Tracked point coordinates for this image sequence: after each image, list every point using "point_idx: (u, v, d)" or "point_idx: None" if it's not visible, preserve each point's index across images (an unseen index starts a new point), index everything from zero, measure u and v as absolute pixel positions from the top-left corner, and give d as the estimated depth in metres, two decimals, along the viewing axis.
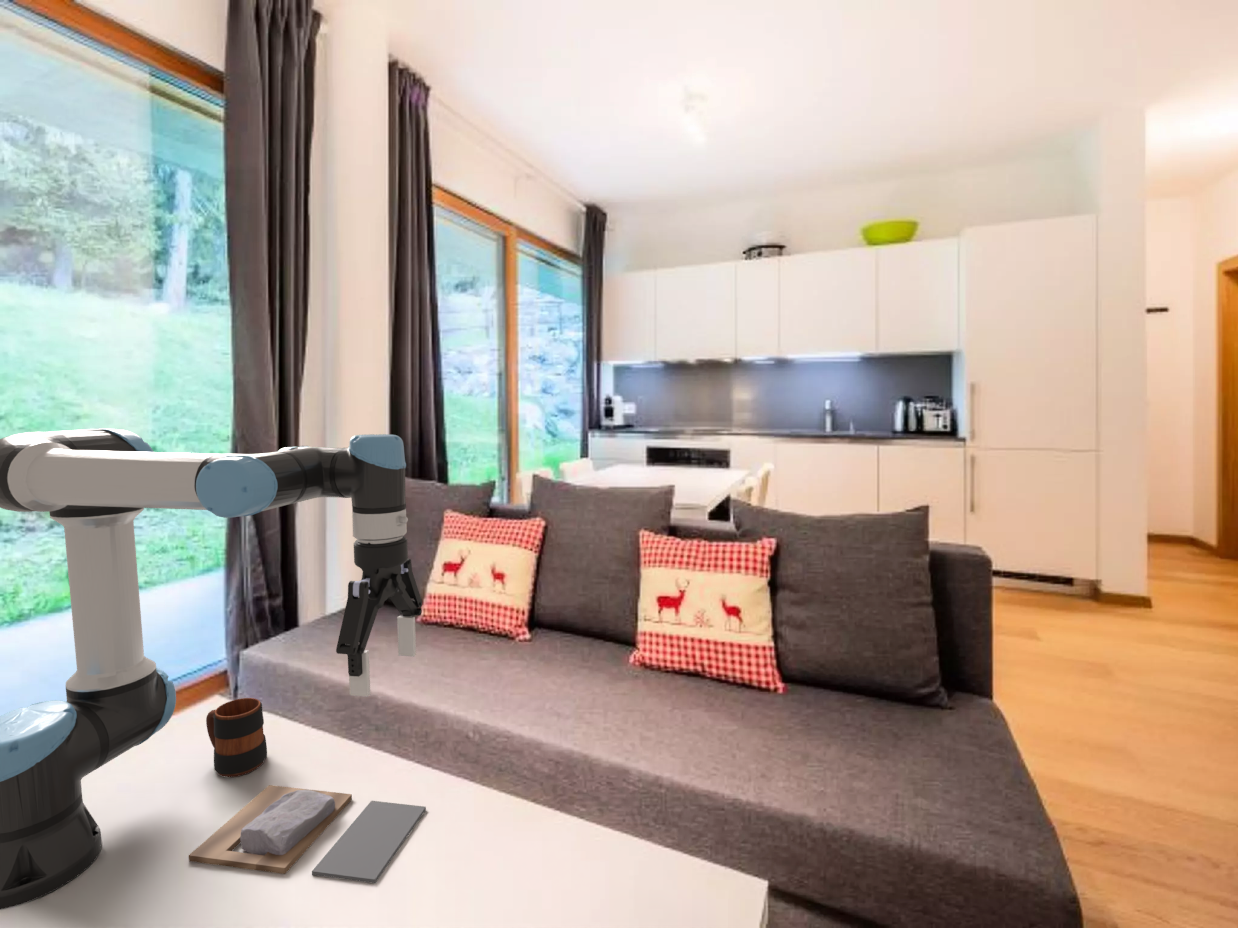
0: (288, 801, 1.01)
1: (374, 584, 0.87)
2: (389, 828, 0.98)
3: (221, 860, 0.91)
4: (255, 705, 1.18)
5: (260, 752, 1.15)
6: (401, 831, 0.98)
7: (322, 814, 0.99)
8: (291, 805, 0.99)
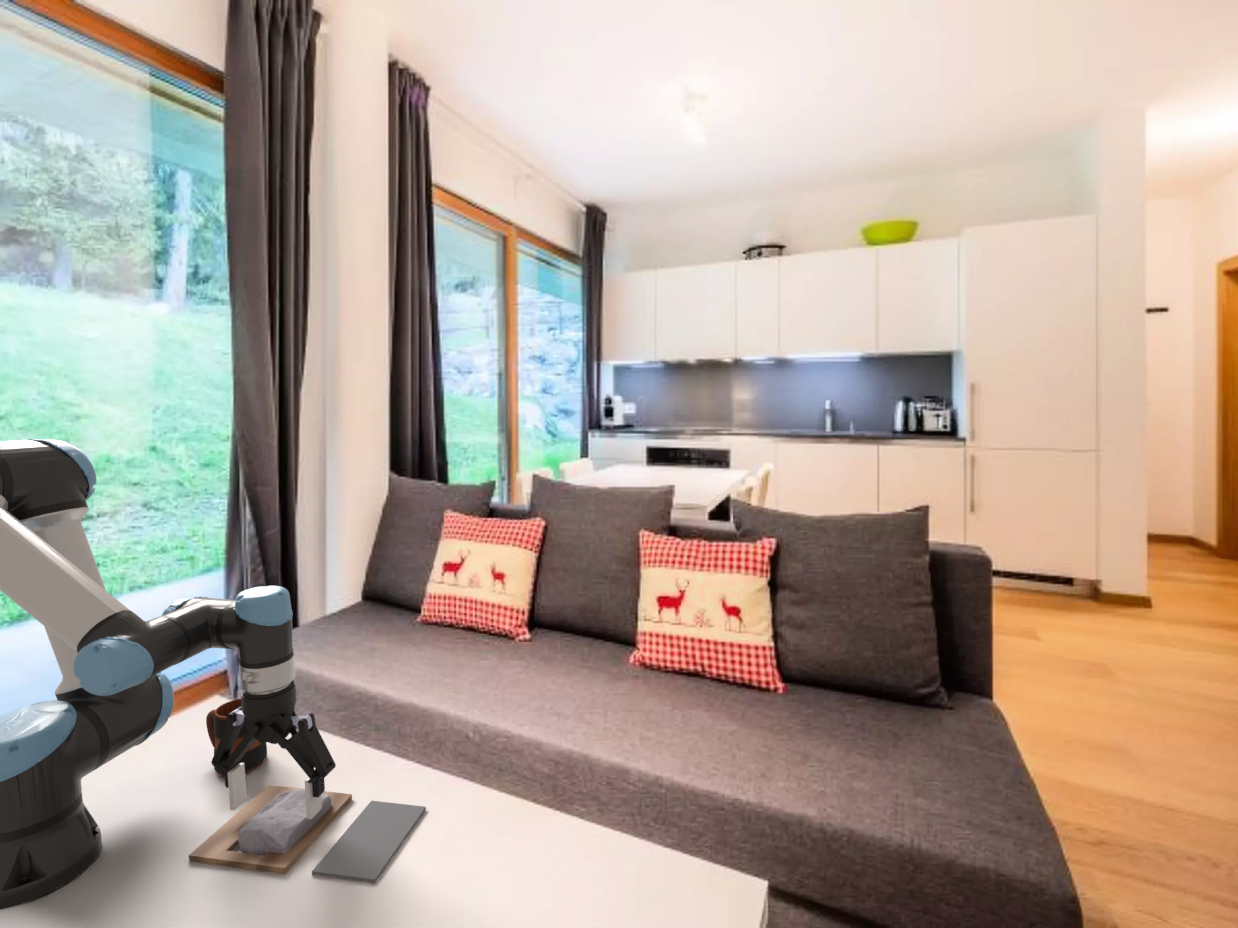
0: (284, 801, 1.01)
1: (244, 721, 0.97)
2: (389, 828, 0.98)
3: (221, 860, 0.91)
4: None
5: (260, 752, 1.15)
6: (401, 831, 0.98)
7: (320, 812, 1.00)
8: (288, 804, 0.99)
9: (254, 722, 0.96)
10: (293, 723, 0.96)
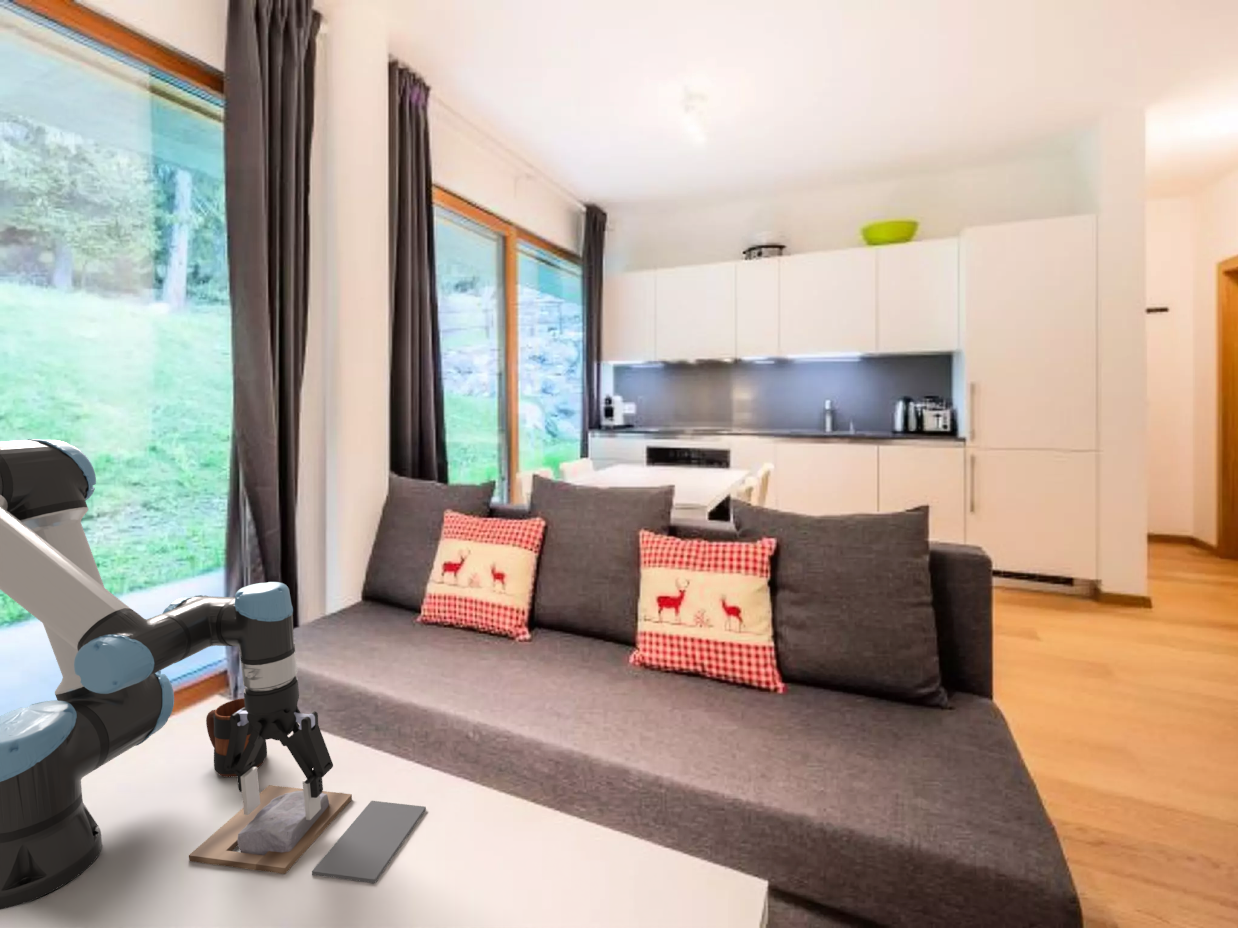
0: (280, 803, 1.00)
1: (248, 718, 0.96)
2: (389, 828, 0.98)
3: (221, 860, 0.91)
4: None
5: (260, 752, 1.15)
6: (401, 831, 0.98)
7: (319, 810, 1.00)
8: (286, 805, 0.99)
9: (257, 719, 0.96)
10: (296, 719, 0.96)
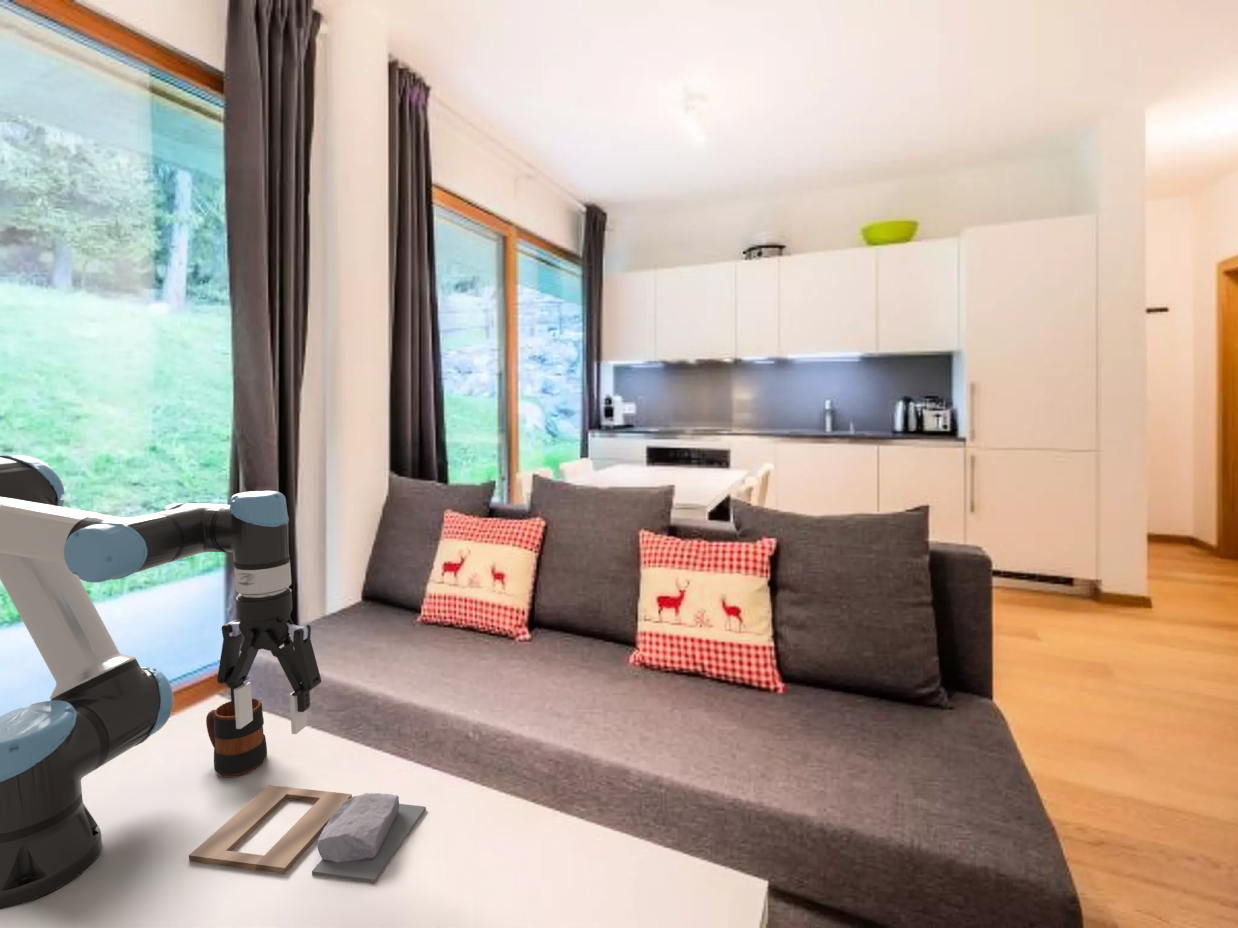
0: (352, 807, 0.99)
1: (239, 628, 0.95)
2: None
3: (221, 860, 0.91)
4: (255, 705, 1.18)
5: (260, 752, 1.15)
6: (401, 831, 0.98)
7: (393, 811, 0.99)
8: (360, 809, 0.98)
9: (249, 628, 0.94)
10: (289, 629, 0.94)
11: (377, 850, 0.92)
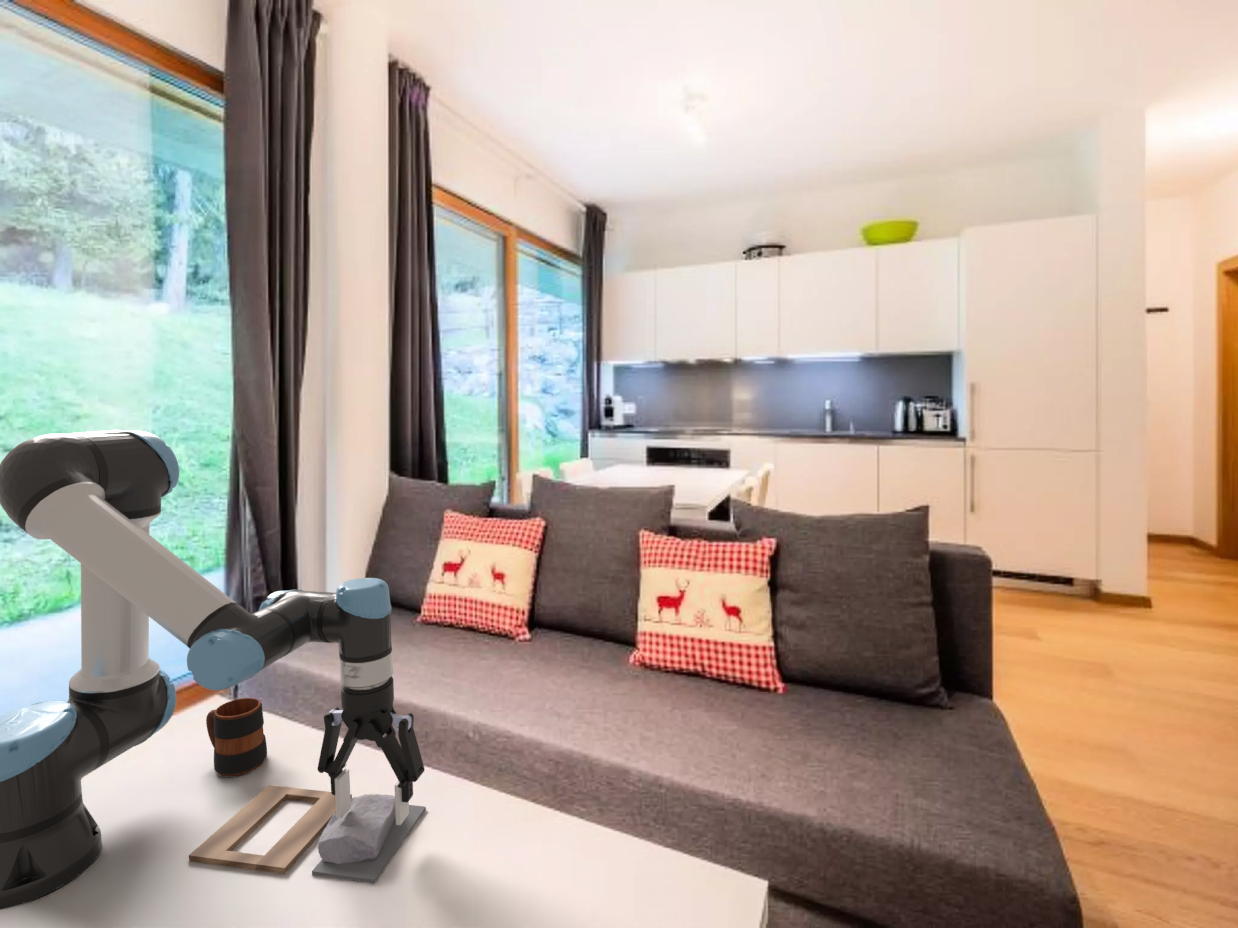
0: (352, 808, 0.98)
1: (342, 717, 0.94)
2: None
3: (221, 860, 0.91)
4: (255, 705, 1.18)
5: (260, 752, 1.15)
6: (401, 831, 0.98)
7: (393, 812, 0.99)
8: (360, 810, 0.97)
9: (352, 718, 0.93)
10: (393, 719, 0.93)
11: (378, 851, 0.92)
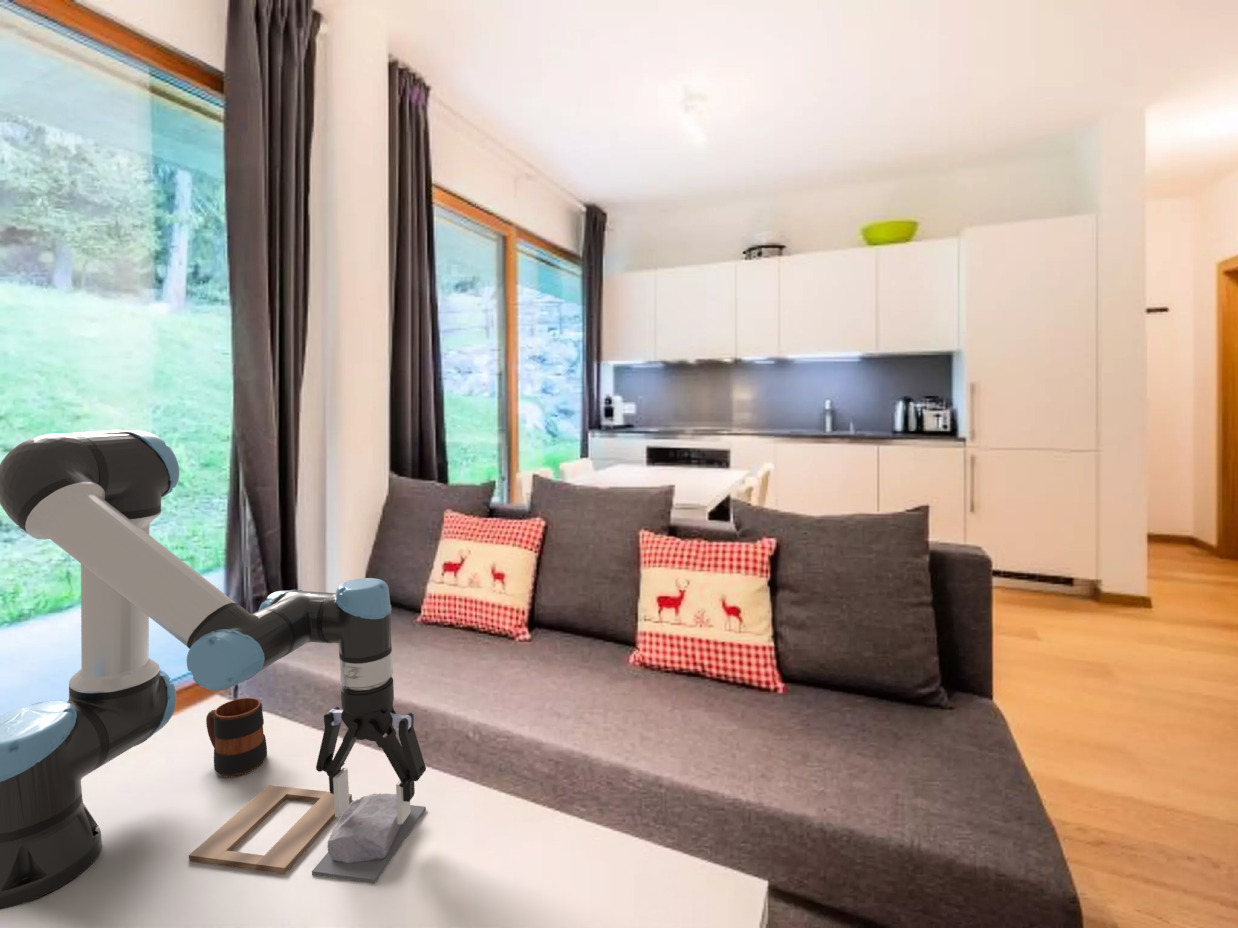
0: (361, 807, 0.99)
1: (342, 718, 0.94)
2: None
3: (221, 860, 0.91)
4: (255, 705, 1.18)
5: (260, 752, 1.15)
6: (401, 831, 0.98)
7: None
8: (369, 809, 0.98)
9: (352, 719, 0.93)
10: (393, 720, 0.93)
11: (387, 850, 0.92)
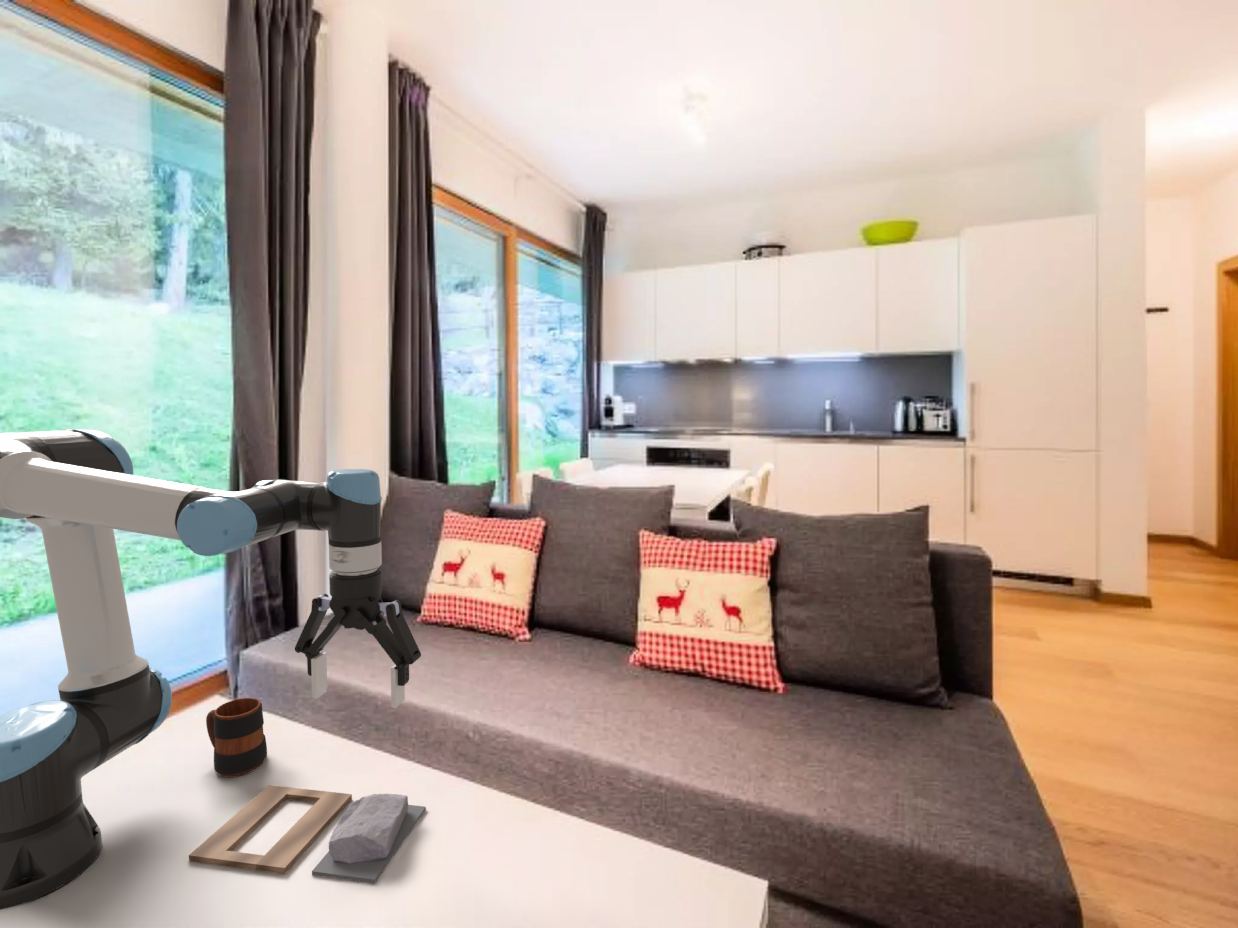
0: (362, 807, 0.98)
1: (330, 606, 0.94)
2: None
3: (221, 860, 0.91)
4: (255, 705, 1.18)
5: (260, 752, 1.15)
6: (401, 831, 0.98)
7: (403, 812, 0.99)
8: (369, 809, 0.97)
9: (340, 607, 0.94)
10: (380, 609, 0.94)
11: (389, 850, 0.92)
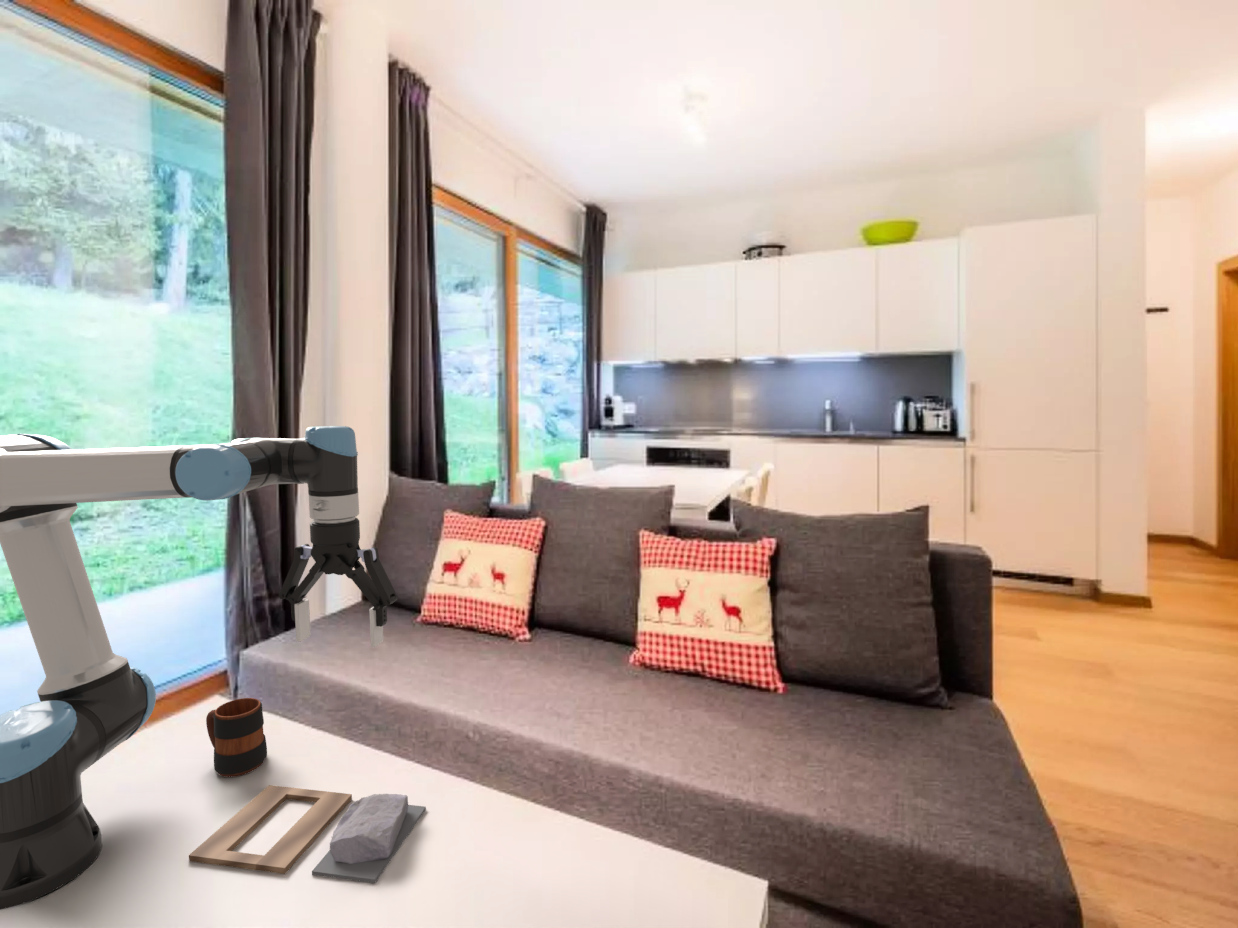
0: (362, 808, 0.98)
1: (311, 554, 1.01)
2: None
3: (221, 860, 0.91)
4: (255, 705, 1.18)
5: (260, 752, 1.15)
6: (401, 831, 0.98)
7: (403, 811, 0.99)
8: (370, 810, 0.97)
9: (321, 554, 1.01)
10: (358, 555, 1.00)
11: (391, 850, 0.92)
